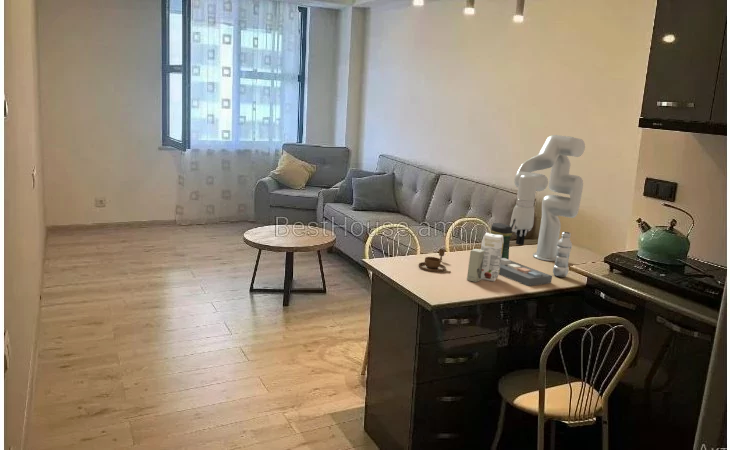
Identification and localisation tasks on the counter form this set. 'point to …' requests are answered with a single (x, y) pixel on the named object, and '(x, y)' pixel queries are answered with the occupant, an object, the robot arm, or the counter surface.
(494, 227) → the coffee jar
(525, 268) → the key
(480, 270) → the box
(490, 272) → the juice carton
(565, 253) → the plastic bottle
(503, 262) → the key
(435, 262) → the brown cup and saucer
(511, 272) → the keypad
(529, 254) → the counter surface
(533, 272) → the key
